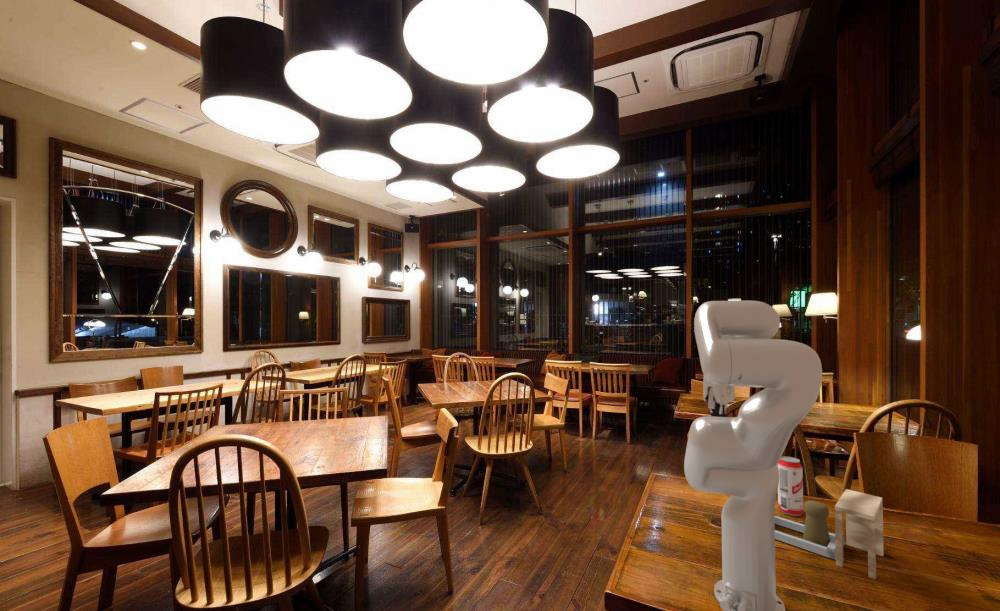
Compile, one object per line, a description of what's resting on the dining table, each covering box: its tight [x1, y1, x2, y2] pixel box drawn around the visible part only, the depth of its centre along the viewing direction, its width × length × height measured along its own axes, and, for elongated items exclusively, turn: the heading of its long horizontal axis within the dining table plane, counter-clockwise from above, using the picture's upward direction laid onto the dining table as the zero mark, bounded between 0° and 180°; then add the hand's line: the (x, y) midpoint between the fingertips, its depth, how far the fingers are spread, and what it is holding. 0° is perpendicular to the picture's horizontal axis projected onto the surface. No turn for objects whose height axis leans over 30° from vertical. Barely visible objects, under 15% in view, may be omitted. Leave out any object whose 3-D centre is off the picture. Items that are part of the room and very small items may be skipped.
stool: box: [834, 488, 885, 580], centre depth 101 cm, size 7×14×14 cm, turn 132°
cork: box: [802, 500, 830, 547], centre depth 107 cm, size 6×6×11 cm
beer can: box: [777, 455, 804, 517], centre depth 125 cm, size 6×6×16 cm
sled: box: [775, 515, 846, 561], centre depth 111 cm, size 21×10×6 cm, turn 42°
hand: (718, 427), depth 112 cm, fingers closed
